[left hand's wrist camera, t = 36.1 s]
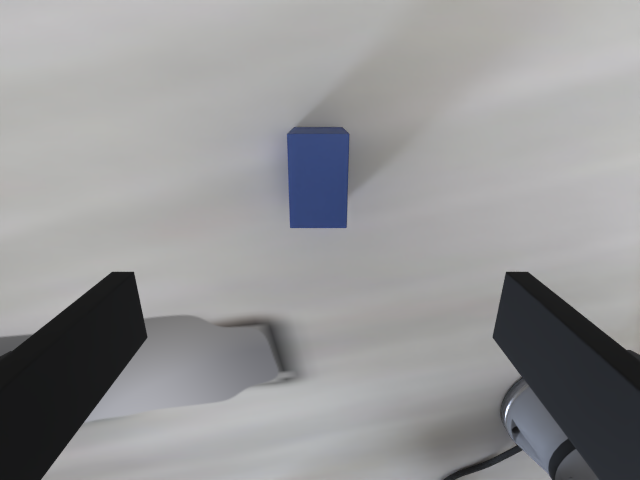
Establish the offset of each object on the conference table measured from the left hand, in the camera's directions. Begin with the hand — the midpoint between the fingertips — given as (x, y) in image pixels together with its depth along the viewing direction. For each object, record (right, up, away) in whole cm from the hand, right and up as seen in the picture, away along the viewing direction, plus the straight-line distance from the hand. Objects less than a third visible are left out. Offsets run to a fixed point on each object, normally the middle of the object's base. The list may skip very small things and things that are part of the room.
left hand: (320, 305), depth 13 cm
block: (0, +10, +26) cm, 28 cm away
